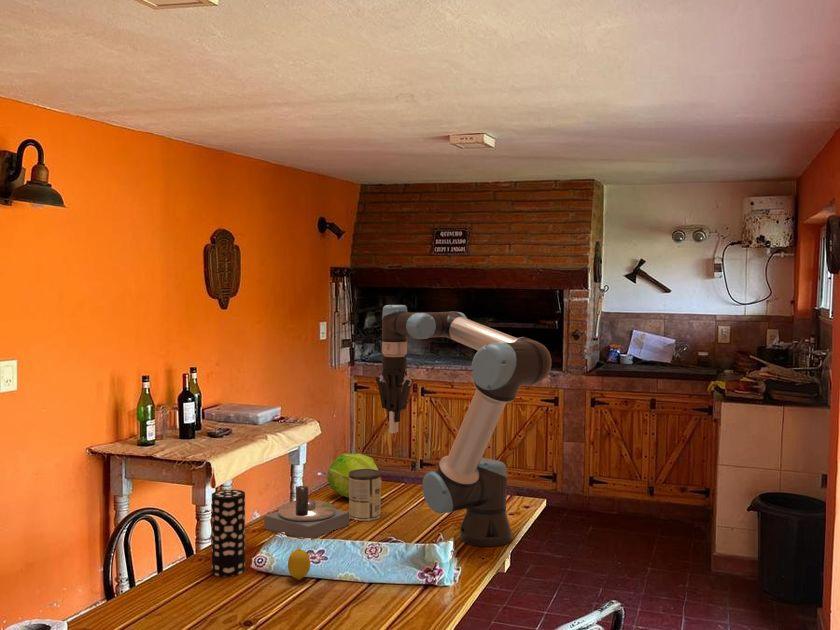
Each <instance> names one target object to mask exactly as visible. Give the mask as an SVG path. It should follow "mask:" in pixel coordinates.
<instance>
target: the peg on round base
mask: <svg viewBox="0 0 840 630" xmlns="http://www.w3.org/2000/svg"><path fill="white" fill-rule="evenodd" d="M335 509H336V506H335V505H334V504H333V503H331V502H328V501H324V500H314V499H310V498H309V486H307V485H299V486H296V487H295V501H291V502H290V501H289V502H287V503H286V502H285V503H284V504H282V505H280V506H279V508H278V511H279V516H280V517H282V518H284V519H287V520H292V521H317V520H323V519H326V518H329V517H332V516H333V515H334V514H335Z"/></svg>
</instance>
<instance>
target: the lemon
mask: <svg viewBox="0 0 840 630" xmlns="http://www.w3.org/2000/svg"><path fill="white" fill-rule="evenodd" d="M310 559H311V558H310V555H309V554H308V553H307V551H306V550H304V549H302V548H297V549H295V550H293V551H292V552H291V553H290V554H289V557H288V562H287V570H288V573H289V575H290V576H291V577H292V578H295V579H296V580H297V581H301V579H303V578H305V577H306V576H307V575H308V574H309V572H310V568H311V560H310Z"/></svg>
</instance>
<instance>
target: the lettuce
mask: <svg viewBox="0 0 840 630" xmlns="http://www.w3.org/2000/svg"><path fill="white" fill-rule="evenodd" d="M357 469H375V470H379V469H378V466H377V464H375V461H374V459H373V457H370V456H368V455H365V454H363V453H359V452H358V453H357V452H356V453H350V452H345V453H342V454H340V455H338V456H337V457H336V458H335V460H334V461H333V462H332V464H330V466H329V467H328V470H327V475H326V478H327V481H328V484H329V486H330V488H331V489H332V491H334V492H335V493H336V494H338V495H339V496H342V497H345V498H348V499H349V472H350V471H352V470H357ZM382 482H383V481H382V480H381V485H382Z"/></svg>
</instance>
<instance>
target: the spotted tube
mask: <svg viewBox="0 0 840 630" xmlns="http://www.w3.org/2000/svg"><path fill="white" fill-rule="evenodd" d="M245 571H246V492H245V491H243V490H240V489H222V490H216V491H214V492H212V493H211V573H212V574H213V575H214V576H217V577H234V576H239V575H241V574H243V573H244V572H245Z"/></svg>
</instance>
